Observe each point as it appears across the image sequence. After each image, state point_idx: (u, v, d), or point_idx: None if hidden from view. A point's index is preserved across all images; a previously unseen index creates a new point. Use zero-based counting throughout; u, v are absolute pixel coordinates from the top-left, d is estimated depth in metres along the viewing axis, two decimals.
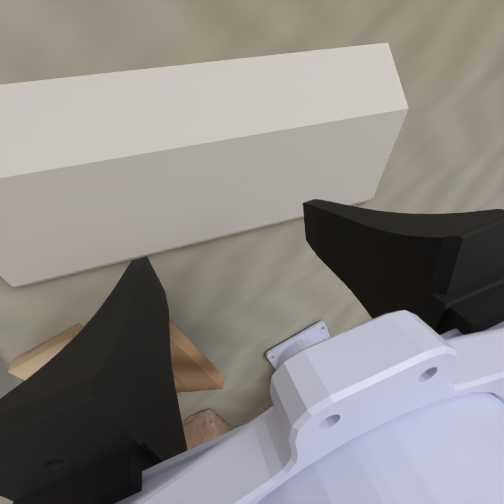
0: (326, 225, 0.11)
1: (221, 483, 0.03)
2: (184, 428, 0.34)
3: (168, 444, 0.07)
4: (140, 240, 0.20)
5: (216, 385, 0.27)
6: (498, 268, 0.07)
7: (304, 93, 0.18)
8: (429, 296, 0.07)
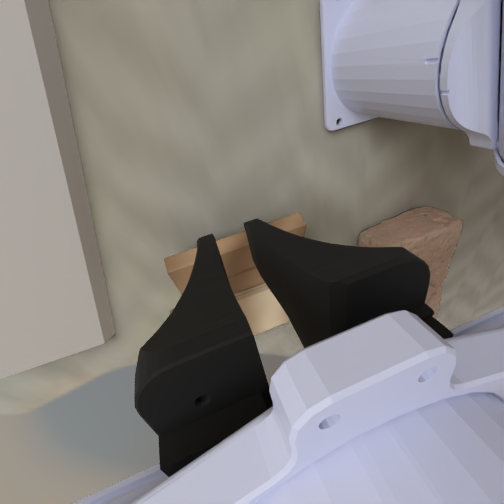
0: (261, 249, 0.11)
1: (221, 483, 0.03)
2: None
3: None
4: (56, 255, 0.18)
5: (296, 230, 0.20)
6: (404, 308, 0.07)
7: None
8: None
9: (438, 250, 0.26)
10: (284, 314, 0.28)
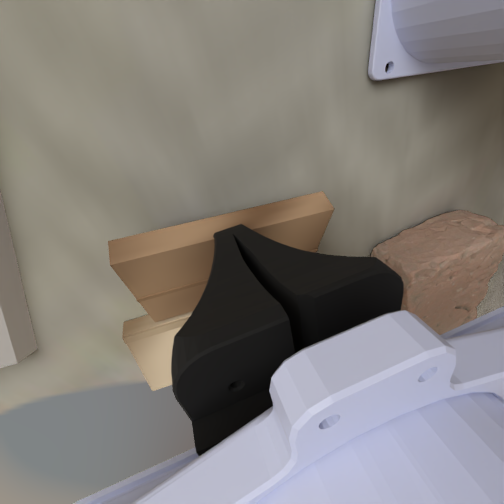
0: (244, 255, 0.10)
1: (221, 483, 0.03)
2: None
3: None
4: None
5: (318, 216, 0.13)
6: None
7: None
8: None
9: (477, 268, 0.20)
10: None
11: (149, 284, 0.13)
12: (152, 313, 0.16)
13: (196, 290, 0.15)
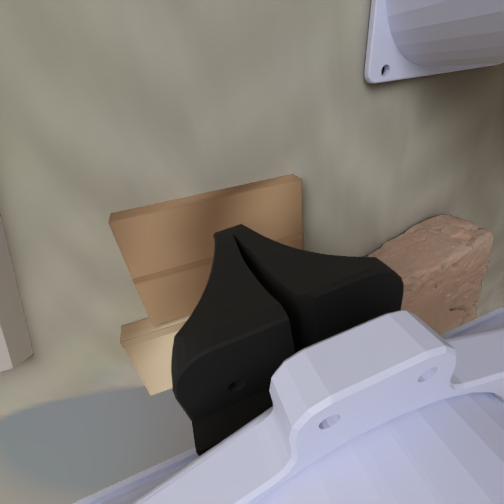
0: (244, 255, 0.10)
1: (221, 483, 0.03)
2: None
3: None
4: None
5: (289, 187, 0.15)
6: None
7: None
8: None
9: (463, 273, 0.20)
10: None
11: (143, 257, 0.14)
12: (149, 308, 0.16)
13: (190, 277, 0.16)
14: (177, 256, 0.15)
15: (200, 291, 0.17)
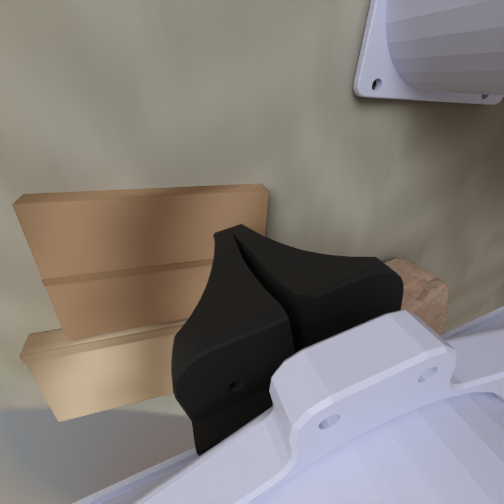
0: (244, 255, 0.10)
1: (221, 483, 0.03)
2: None
3: None
4: None
5: (253, 197, 0.13)
6: None
7: None
8: None
9: None
10: None
11: (59, 255, 0.12)
12: (63, 318, 0.13)
13: (121, 287, 0.13)
14: (105, 259, 0.12)
15: (133, 304, 0.14)
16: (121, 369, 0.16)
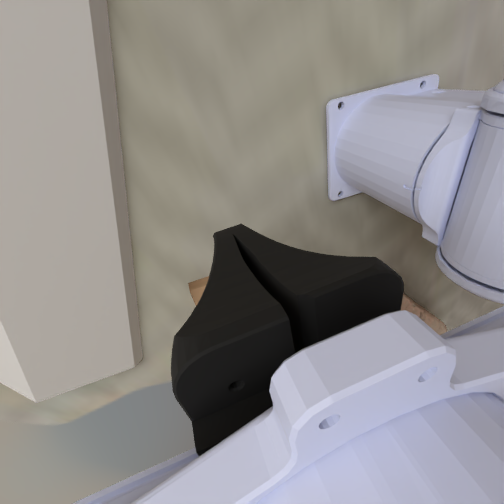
0: (244, 255, 0.10)
1: (221, 483, 0.03)
2: None
3: None
4: (105, 300, 0.22)
5: None
6: None
7: None
8: None
9: None
10: None
11: None
12: None
13: None
14: None
15: None
16: None
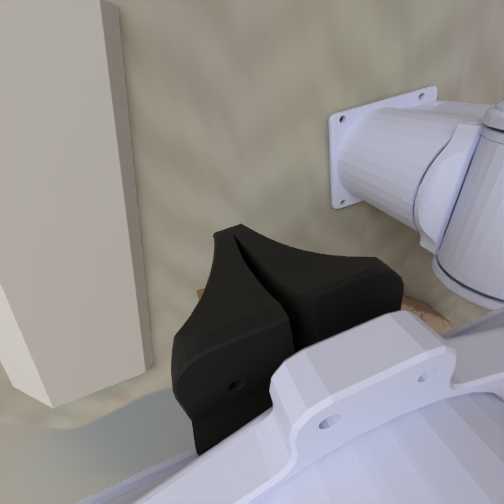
0: (244, 255, 0.10)
1: (221, 483, 0.03)
2: None
3: None
4: (118, 309, 0.23)
5: None
6: None
7: None
8: None
9: None
10: None
11: None
12: None
13: None
14: None
15: None
16: None
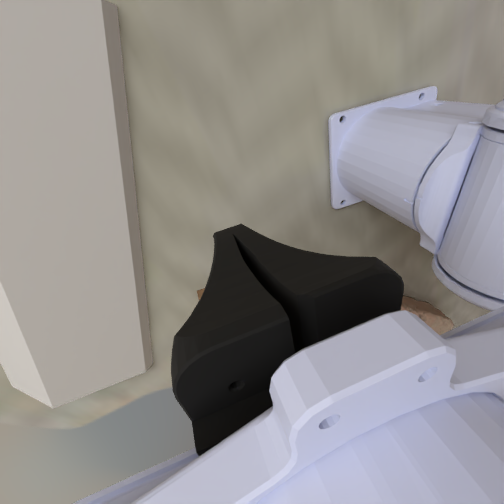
0: (244, 255, 0.10)
1: (221, 483, 0.03)
2: None
3: None
4: (118, 309, 0.23)
5: None
6: None
7: None
8: None
9: None
10: None
11: None
12: None
13: None
14: None
15: None
16: None
